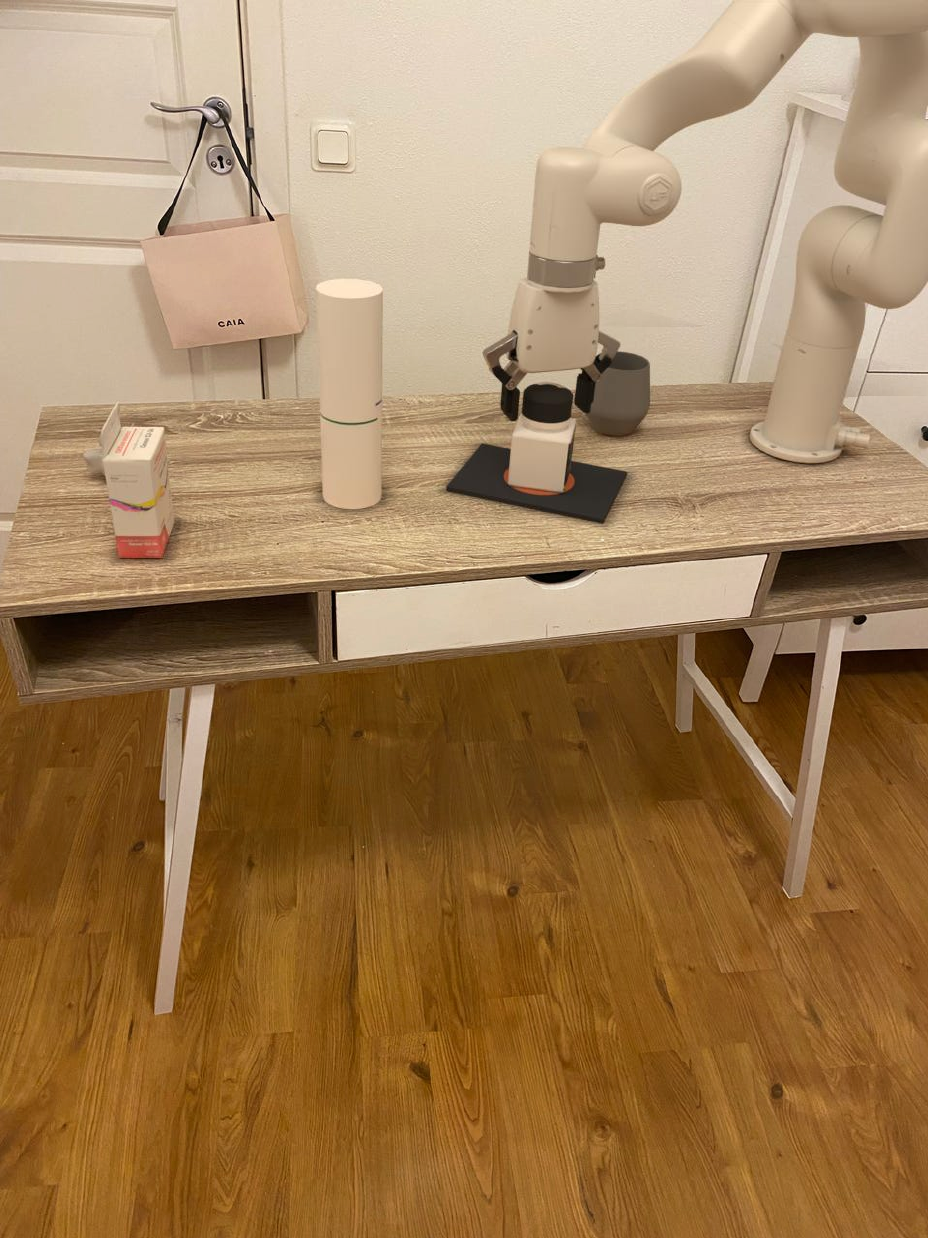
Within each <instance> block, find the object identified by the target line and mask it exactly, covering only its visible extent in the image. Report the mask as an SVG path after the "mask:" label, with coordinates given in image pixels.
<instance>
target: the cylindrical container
mask: <svg viewBox="0 0 928 1238" xmlns="http://www.w3.org/2000/svg"><path fill="white" fill-rule="evenodd" d="M315 293H316V294H315V296H316V298H315V299H316V325H317V326H316V327H317V331H316V332H317V359H318V361H317V363H318V393H319V395H318V396H319V397H318V398H319V423H320V424H319V425H320V427H319V428H320V453H321V454H320V455H321V457H320V458H321V484H322V485H321V486H322V487H321V489H322V498H323V500H324V502H325V503H327V504H328V505H329V506H332V507H335V508H338V509H343V510H360V509H366V508H369V507H372V506H375V505H376V504H378V503H379V502H380V501H381V499H382V494H383V493H382V485H383V483H382V478H383V477H382V476H383V475H382V473H383V472H382V471H383V469H382V467H383V466H382V465H383V464H382V463H383V459H382V457H383V320H384V319H383V318H384V316H383V315H384V314H383V311H384V310H383V309H384V307H383V306H384V304H383V303H384V301H383V300H384V298H383V297H384V289H383V286H381V285H380V284H379V283H376V282H374V281H371V280H366V279H359V278H334V279H329V280H325V281H321V282H319V283H318V284H317V285H316V287H315Z"/></svg>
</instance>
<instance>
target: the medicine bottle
mask: <svg viewBox="0 0 928 1238" xmlns="http://www.w3.org/2000/svg"><path fill="white" fill-rule="evenodd" d="M573 404H574V393H573V392H572V391H571V390H570V389H569V388H568V387H566V386H564V385H562V384H559V383H555V382H547V381H544V382H543V381H541V382H536V383H532V384H529V385H527V386H526V387H525V388H524V390H523V393H522V403H521V412H520V414H519V415H518V420H516V423H515V427H514V428H513V432H512V434H511V440H510V441H511V442H510V449H511V453H510V464H509V476H508V485H509V486H513V487H521V488H528V489H535V490H542V491H549V492H557V493H564V491H565V488H566V484H567V480H568V476H569V472H570V469H571V461H573V460H572V459H573V452H574V443H575V436H576V429H577V428H576V427H577V420H576V419H575V418H572V410H573Z"/></svg>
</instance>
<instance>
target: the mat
mask: <svg viewBox="0 0 928 1238" xmlns="http://www.w3.org/2000/svg"><path fill="white" fill-rule="evenodd" d="M510 453H511V448H508V447H503V446H498V445H492V444H487V443H480V445H479V446H478V447H477V449H476V450H475V451H474V452H473V453H472V455H471V456H470V457H469V458H468V460H467V461H465V463H464V464H463V465H462V467H461V468H460V469H459V470H458V472H457V473H456V474H455V475H454V477H453V478H452V479H451V480H450V481H449V483H447V485H446V486H445V491H446V492H450V493H455V494H459V495H460V494H461V495H466V496H470V497H474V498H479V499H484V500H489V501H493V502H498V503H502V504H503V503H504V504H508V505H513V506H517V507H522V508H527V509H531V510H536V511H542V512H546V513H550V514H555V515H559V516H565V517H571V518H574V519H579V520H584V521H588V522H594V523H598V524H604V522H605V521H606V518H607V517H608V514H609V512H610V511H611V509H612V506H613V505H614V502H615V500H616V498H617V496H618V494H619V492H620V491H621V488H622V486H623V484H624V482H625V480H626V479H627V476H628V471H626V470H621V469H615V468H610V467H605V466H600V465H594V464H589V463H585V462H580V461H575V460H572V461H571V469H570V472H569V476H568V480H567V484H566V488H565V491H564V493H557V492H549V491H542V490H535V489H528V488H521V487H513V486H509V485H508V476H509V464H510Z"/></svg>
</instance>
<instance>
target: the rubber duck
mask: <svg viewBox="0 0 928 1238" xmlns="http://www.w3.org/2000/svg"><path fill="white" fill-rule="evenodd" d="M113 425H114V422H113V423H111V428H110V430H109V434H110V432H111V430H112V429H113ZM98 439H99V440H98V444H99V446H100V447H102V437H101V433H100V435H99V438H98ZM82 458H83V460H84V461H85V462H86V470H87V472H89V473H92V474H96V473H101V474H102V475H103V476H104V477H105V471H104V465H103V453H102V448H101V449H100V450H98V449H89V450H86V451H85V452H84V453H83V454H82Z"/></svg>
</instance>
